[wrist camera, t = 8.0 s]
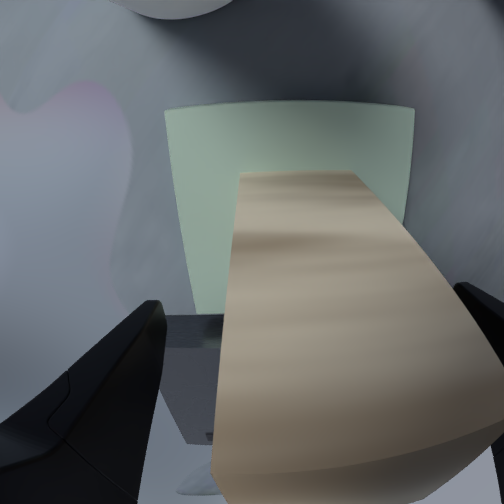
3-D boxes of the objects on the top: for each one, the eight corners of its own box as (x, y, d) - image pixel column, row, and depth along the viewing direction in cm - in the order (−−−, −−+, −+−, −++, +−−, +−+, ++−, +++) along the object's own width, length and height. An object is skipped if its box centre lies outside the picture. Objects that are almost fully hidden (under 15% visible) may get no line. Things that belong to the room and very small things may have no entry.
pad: (380, 292, 17) (385, 303, 16) (199, 301, 17) (196, 313, 16) (404, 106, 12) (414, 109, 11) (170, 108, 12) (164, 110, 11)
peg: (343, 263, 15) (422, 498, 5) (247, 268, 15) (242, 526, 5) (351, 169, 12) (525, 408, 3) (240, 172, 12) (210, 473, 3)
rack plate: (378, 407, 23) (385, 432, 21) (190, 418, 24) (186, 444, 21) (420, 301, 17) (437, 330, 15) (151, 315, 18) (140, 348, 15)
